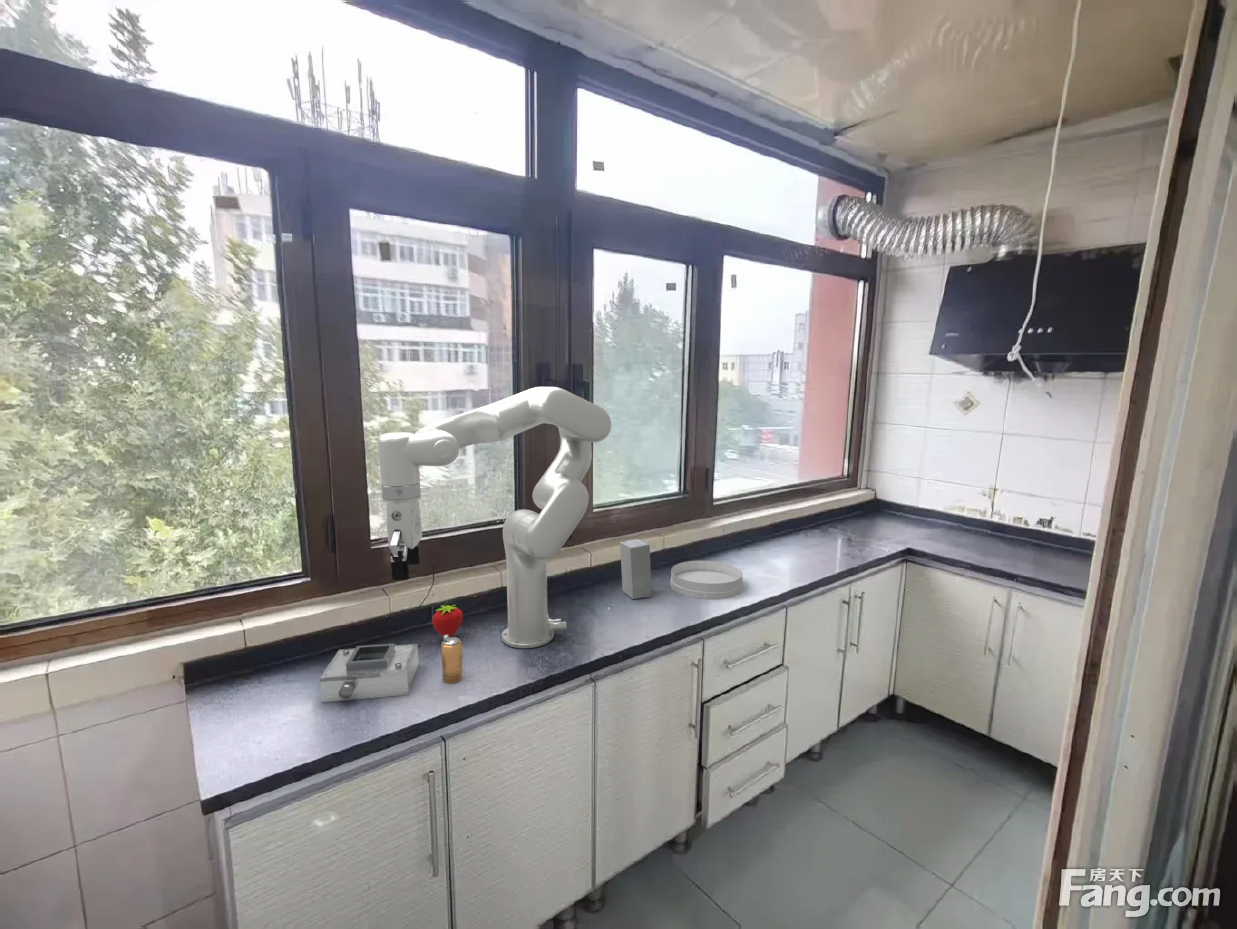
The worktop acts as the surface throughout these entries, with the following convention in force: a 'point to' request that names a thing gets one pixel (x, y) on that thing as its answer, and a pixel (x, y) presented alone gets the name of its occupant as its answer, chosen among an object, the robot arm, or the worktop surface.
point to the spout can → (451, 659)
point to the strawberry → (447, 620)
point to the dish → (706, 579)
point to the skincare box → (636, 568)
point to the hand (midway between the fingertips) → (406, 571)
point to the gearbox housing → (370, 672)
